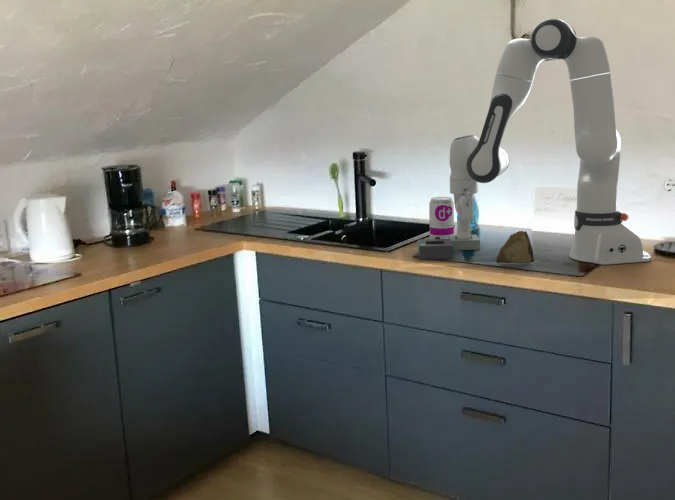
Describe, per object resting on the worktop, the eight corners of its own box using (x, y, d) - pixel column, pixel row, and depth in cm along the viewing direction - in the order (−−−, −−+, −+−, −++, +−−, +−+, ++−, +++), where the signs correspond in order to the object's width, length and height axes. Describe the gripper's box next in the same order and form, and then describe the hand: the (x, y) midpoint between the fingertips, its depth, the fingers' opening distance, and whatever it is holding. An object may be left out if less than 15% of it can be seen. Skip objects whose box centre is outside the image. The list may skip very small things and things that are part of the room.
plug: (469, 244, 233) (469, 217, 231) (471, 246, 230) (470, 219, 228) (457, 245, 233) (457, 217, 231) (458, 247, 230) (458, 219, 228)
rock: (489, 257, 210) (522, 256, 205) (493, 231, 213) (526, 229, 208) (502, 272, 218) (535, 271, 212) (506, 247, 221) (538, 245, 216)
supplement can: (455, 244, 241) (455, 199, 237) (431, 244, 241) (430, 200, 238) (452, 239, 249) (452, 196, 245) (428, 240, 249) (427, 197, 246)
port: (449, 254, 226) (449, 237, 225) (452, 261, 216) (452, 244, 215) (417, 255, 227) (417, 238, 226) (419, 262, 217) (419, 245, 216)
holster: (476, 246, 236) (476, 234, 235) (479, 252, 227) (479, 240, 226) (448, 247, 236) (448, 235, 235) (451, 253, 228) (450, 240, 227)
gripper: (478, 191, 217) (478, 236, 220) (470, 183, 237) (470, 224, 240) (457, 192, 217) (457, 237, 220) (450, 183, 237) (451, 224, 240)
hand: (464, 230), depth 230 cm, fingers closed on plug, 3 cm apart
